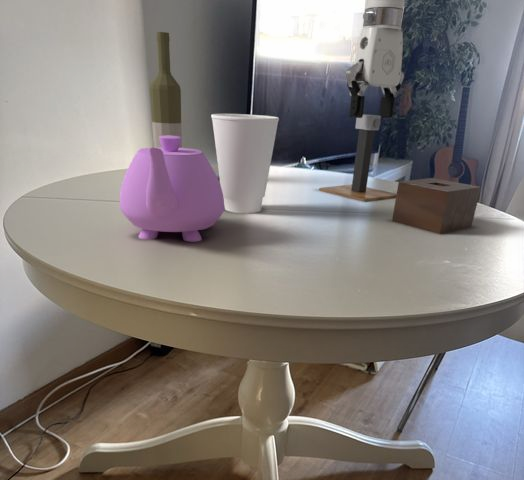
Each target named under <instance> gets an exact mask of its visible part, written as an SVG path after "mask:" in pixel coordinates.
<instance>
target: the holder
mask: <svg viewBox="0 0 524 480" xmlns="http://www.w3.org/2000/svg"><path fill="white" fill-rule="evenodd" d="M481 191H482V186H479V185H474V184H467V183H462V182H456V181H451V180H445V179H440V178H434V177H429V178H419V179H410V180H401V181H400V180H399V181H398V183H397V190H396V194H397V195H396V197H395V201H394V207H393V213H392V218H391V222H394V223H397V224H401V225H404V226H409V227H411V228H416V229H419V230H423V231H426V232H430V233H434V234H438V235H441V234H446V233H451V232H455V231H459V230H464V229H468V228H472V225H473V222H474V218H475V215H476V214H475V213H476V209H477V205H478V202H479V198H480V194H481Z"/></svg>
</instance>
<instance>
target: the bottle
mask: <svg viewBox="0 0 524 480" xmlns="http://www.w3.org/2000/svg"><path fill="white" fill-rule="evenodd" d="M170 41H171V40H170V33H169V32H167V31H156V44H157V45H156V46H157V60H158V61H157V65H158V66H157V67H158V71H157V74H156V76H155V77H154V78H153V80H152V81H151V83H150V84H149V100H150V113H151V114H150V115H151V126H152V128H151V129H152V141H153V147H162V145H161V143H160V140H159V137H160V136H166V135H170V136H179V137H181V142H180V146H179V148H183V144H182V143H183V139H182V135H183V134H182V90H181V86H180V84H179V83H178V81H177V80H176V79H175V77H174V76H173V75H172V72H171V54H170V53H171V52H170V50H171V49H170Z"/></svg>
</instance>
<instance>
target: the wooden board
mask: <svg viewBox="0 0 524 480" xmlns="http://www.w3.org/2000/svg"><path fill="white" fill-rule="evenodd" d="M351 189H352V184H343V185H334V186H324V187H318V191H320V192H323V193H328V194H331V195H336V196H339V197H344V198H348V199H352V200H355V201H360V202H364V203H365V202H372V201H380V200H386V199H393V198H395V199H396V195H397V193H395V192H391V191H385V190H382V189H377V188H373V187H366V192H356V191H351Z"/></svg>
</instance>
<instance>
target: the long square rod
mask: <svg viewBox="0 0 524 480" xmlns="http://www.w3.org/2000/svg"><path fill="white" fill-rule="evenodd" d="M381 119H382V117H381V116H379V115H376V114H363V117H362V118H355V127H354V129H356V130H358V137H357V144H356V151H355V160H354V166H353V167H354V168H353V173H352V182H351V185H352V189H351V191H356V192H366V187H367V186H368V180H369V179H368V178H369V173H370V165H371V158H372V153H373V152H372V151H373V144H374V137H375V131H379V130H380V127H381V124H382V122H381Z"/></svg>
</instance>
